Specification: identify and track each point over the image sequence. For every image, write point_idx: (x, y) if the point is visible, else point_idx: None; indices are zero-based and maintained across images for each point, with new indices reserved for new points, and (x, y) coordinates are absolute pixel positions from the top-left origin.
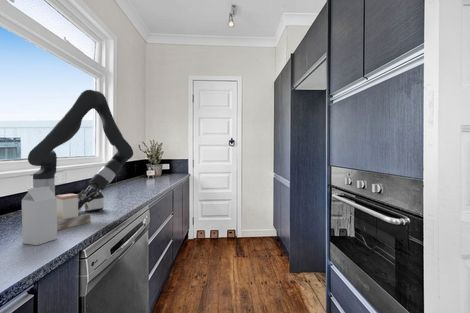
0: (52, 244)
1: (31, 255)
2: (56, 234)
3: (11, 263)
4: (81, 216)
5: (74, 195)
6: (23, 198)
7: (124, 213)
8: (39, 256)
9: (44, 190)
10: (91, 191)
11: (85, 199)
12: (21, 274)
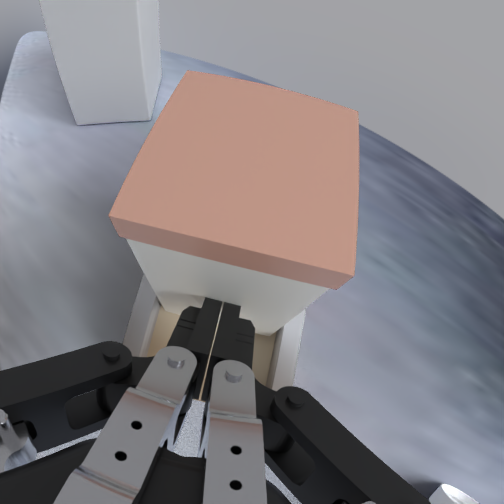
0: (59, 101)
1: None
2: (73, 111)
3: None
4: (133, 310)
5: (131, 168)
6: None
7: None
8: (40, 66)
9: None
10: (54, 464)
11: (103, 346)
12: (26, 42)
